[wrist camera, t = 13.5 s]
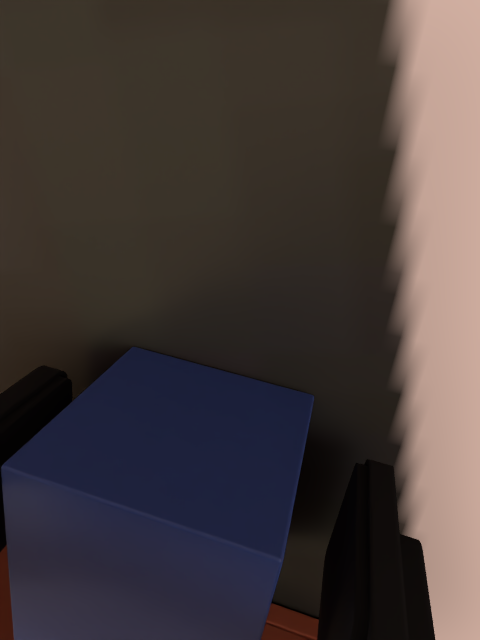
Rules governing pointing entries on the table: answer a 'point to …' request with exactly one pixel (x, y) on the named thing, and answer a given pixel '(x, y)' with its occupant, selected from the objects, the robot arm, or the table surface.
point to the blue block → (154, 505)
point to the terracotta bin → (278, 636)
